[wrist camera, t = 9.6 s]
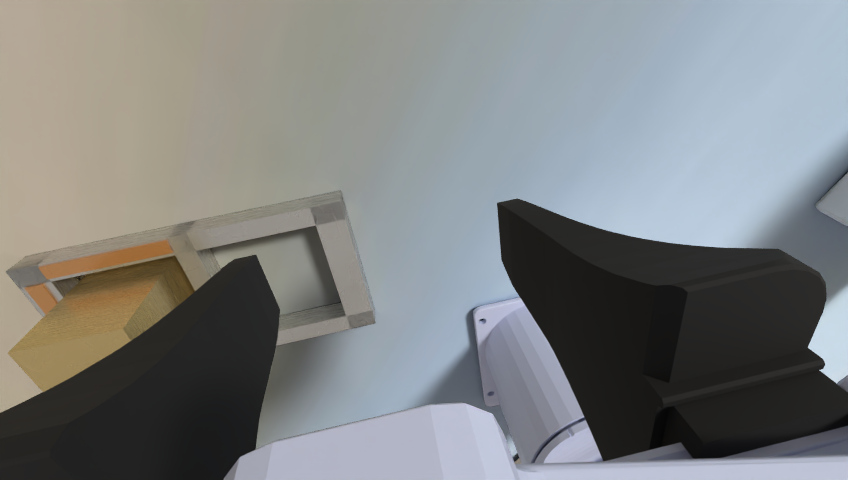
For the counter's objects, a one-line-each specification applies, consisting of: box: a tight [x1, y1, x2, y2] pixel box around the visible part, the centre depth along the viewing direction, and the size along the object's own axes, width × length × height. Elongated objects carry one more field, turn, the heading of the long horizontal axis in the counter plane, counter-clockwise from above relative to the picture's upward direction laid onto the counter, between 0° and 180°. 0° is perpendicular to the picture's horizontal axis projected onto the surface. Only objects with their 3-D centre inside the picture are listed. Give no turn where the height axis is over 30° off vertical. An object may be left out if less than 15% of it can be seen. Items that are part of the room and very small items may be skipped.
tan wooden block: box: [8, 256, 195, 392], centre depth 20 cm, size 4×4×6 cm
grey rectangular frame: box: [6, 191, 375, 346], centre depth 22 cm, size 8×16×2 cm, turn 99°
